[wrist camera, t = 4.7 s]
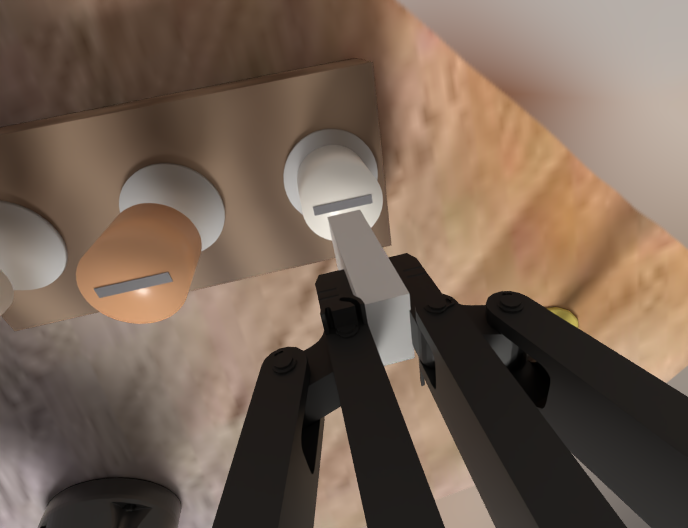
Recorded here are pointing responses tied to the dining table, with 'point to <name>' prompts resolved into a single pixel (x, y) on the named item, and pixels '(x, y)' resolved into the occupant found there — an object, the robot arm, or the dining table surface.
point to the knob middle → (141, 264)
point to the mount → (180, 179)
